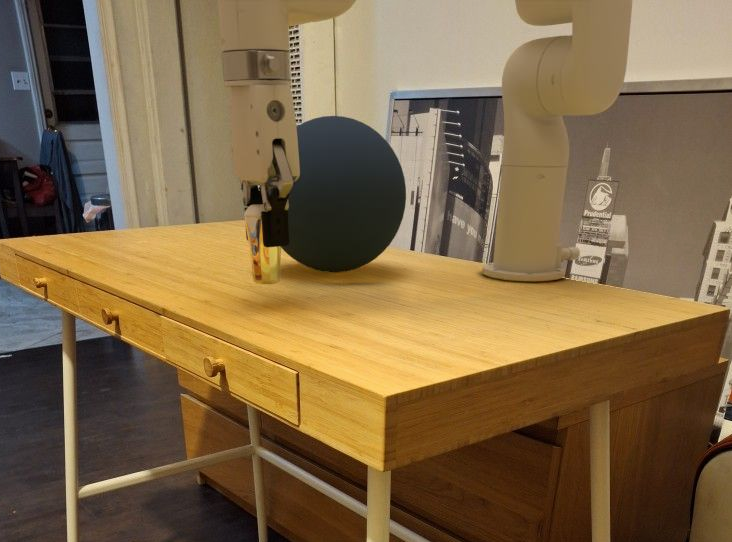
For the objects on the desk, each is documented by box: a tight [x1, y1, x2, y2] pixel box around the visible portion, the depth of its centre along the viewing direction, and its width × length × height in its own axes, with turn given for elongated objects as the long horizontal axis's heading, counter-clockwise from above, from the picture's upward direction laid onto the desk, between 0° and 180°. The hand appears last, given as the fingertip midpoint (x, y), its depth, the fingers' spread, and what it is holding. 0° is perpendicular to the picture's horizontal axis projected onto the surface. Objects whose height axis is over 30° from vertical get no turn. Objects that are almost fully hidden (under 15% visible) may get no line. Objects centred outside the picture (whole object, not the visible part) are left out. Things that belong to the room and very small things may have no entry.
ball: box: [268, 115, 407, 274], centre depth 115 cm, size 22×22×22 cm
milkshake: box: [243, 204, 282, 285], centre depth 92 cm, size 4×5×10 cm
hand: (267, 241), depth 93 cm, fingers closed on milkshake, 4 cm apart
